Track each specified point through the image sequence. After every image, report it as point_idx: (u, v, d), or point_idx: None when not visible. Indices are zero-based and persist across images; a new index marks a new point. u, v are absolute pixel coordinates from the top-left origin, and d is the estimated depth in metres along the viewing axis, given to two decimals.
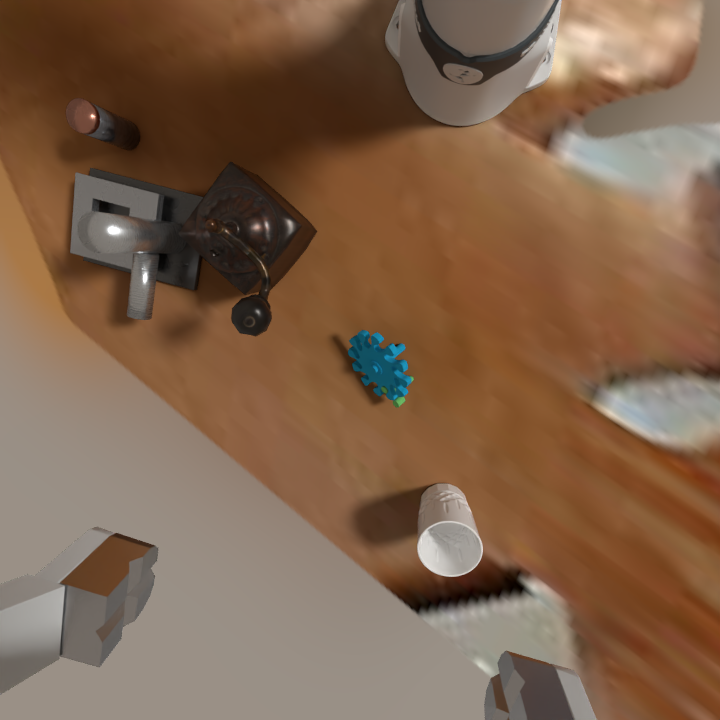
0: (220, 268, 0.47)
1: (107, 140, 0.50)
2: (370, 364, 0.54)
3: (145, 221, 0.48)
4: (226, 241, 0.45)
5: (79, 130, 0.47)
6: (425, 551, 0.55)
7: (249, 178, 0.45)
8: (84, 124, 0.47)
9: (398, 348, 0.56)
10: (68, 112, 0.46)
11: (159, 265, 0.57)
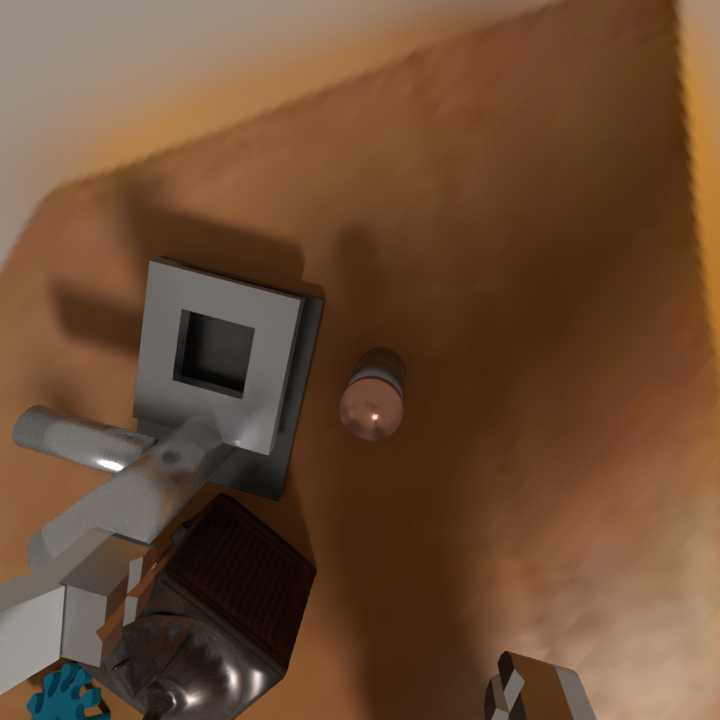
0: None
1: None
2: None
3: (182, 506, 0.25)
4: (138, 694, 0.25)
5: (343, 403, 0.23)
6: None
7: (260, 695, 0.27)
8: (354, 415, 0.23)
9: None
10: (377, 386, 0.22)
11: None
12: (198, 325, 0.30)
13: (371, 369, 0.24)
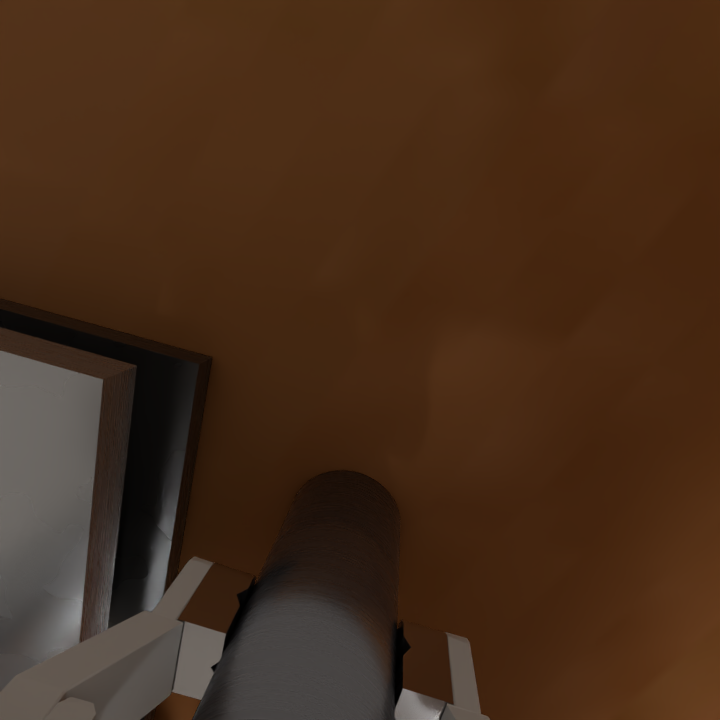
0: None
1: None
2: None
3: None
4: None
5: None
6: None
7: None
8: None
9: None
10: None
11: None
12: None
13: (284, 642, 0.07)
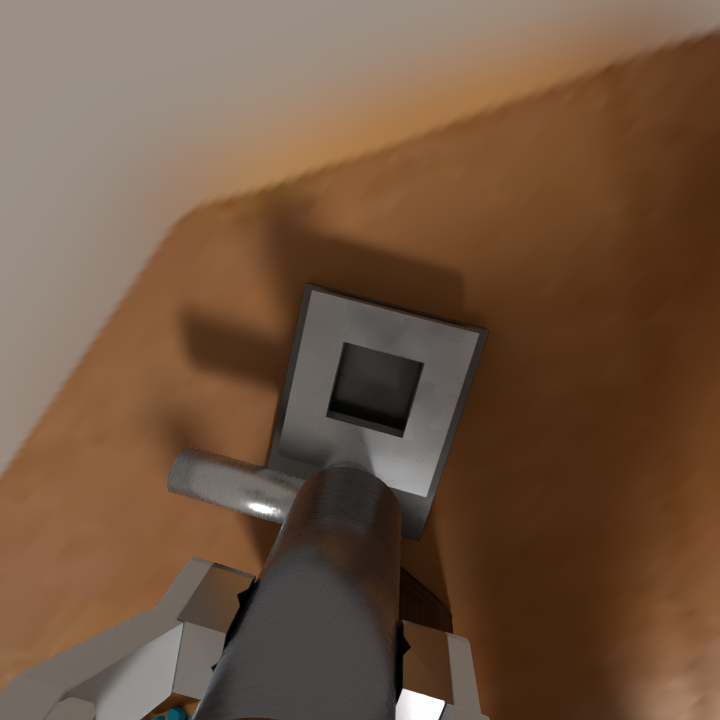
0: None
1: None
2: None
3: None
4: None
5: None
6: None
7: None
8: None
9: None
10: None
11: None
12: (346, 356, 0.28)
13: (287, 633, 0.07)
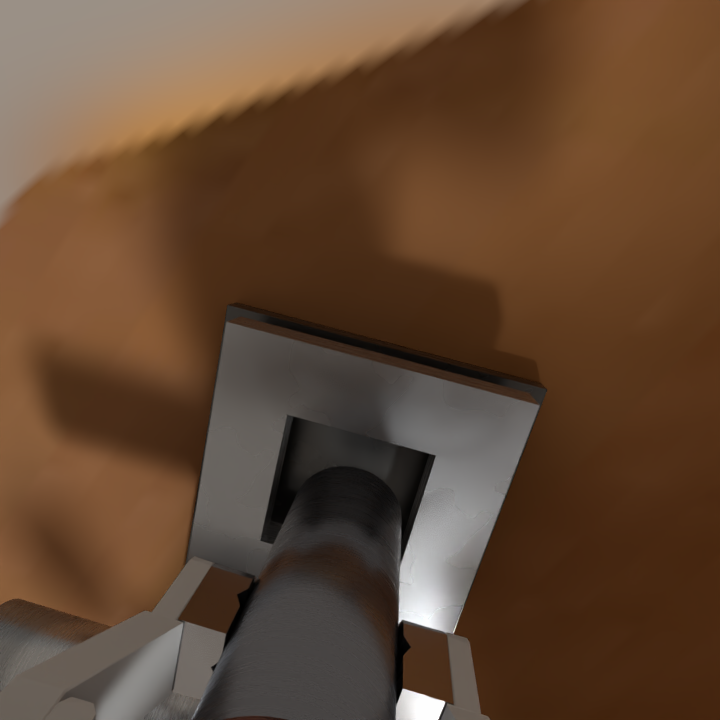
0: None
1: None
2: None
3: None
4: None
5: None
6: None
7: None
8: None
9: None
10: None
11: None
12: (301, 428, 0.17)
13: (287, 632, 0.07)
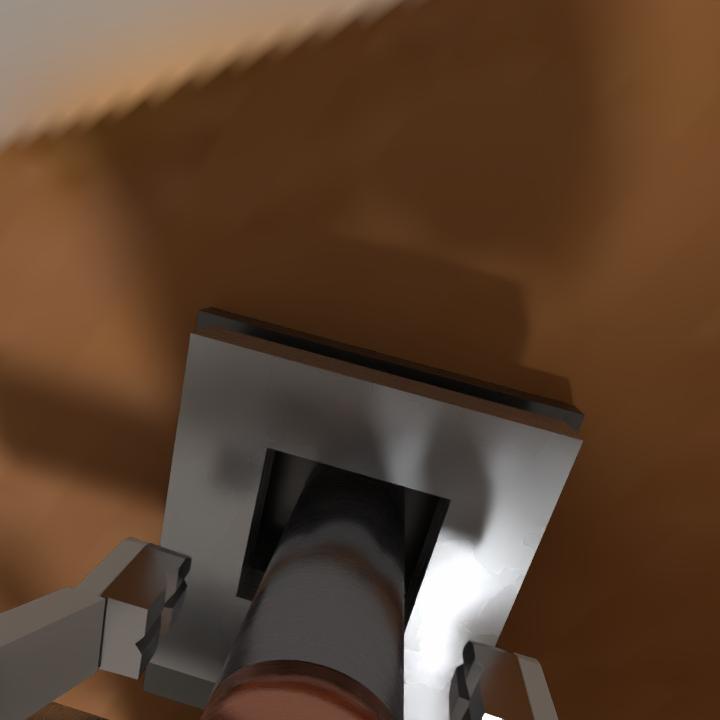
0: None
1: None
2: None
3: None
4: None
5: None
6: None
7: None
8: None
9: None
10: None
11: None
12: (287, 456, 0.14)
13: (306, 593, 0.08)
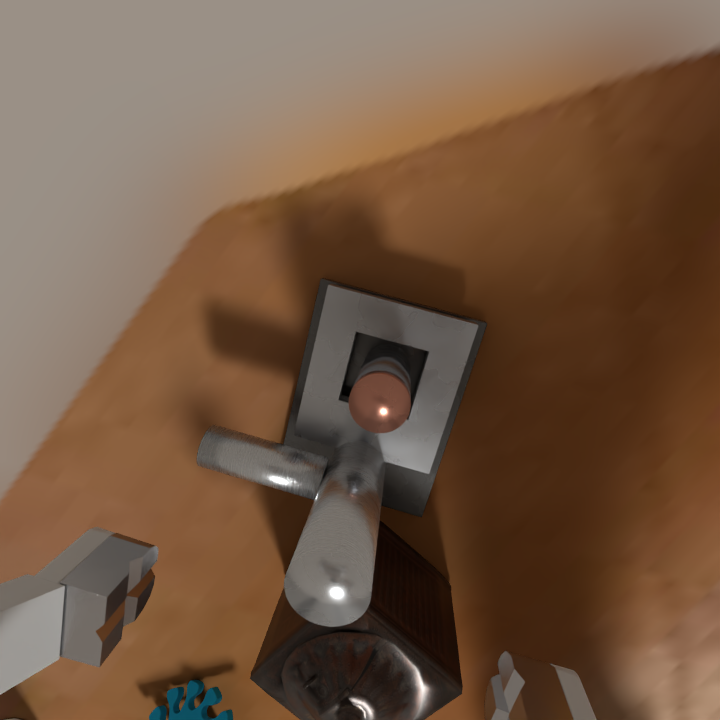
0: (288, 662, 0.27)
1: None
2: None
3: None
4: (328, 710, 0.26)
5: (352, 397, 0.23)
6: None
7: None
8: (363, 409, 0.23)
9: None
10: (385, 380, 0.23)
11: None
12: (357, 346, 0.31)
13: (379, 364, 0.25)
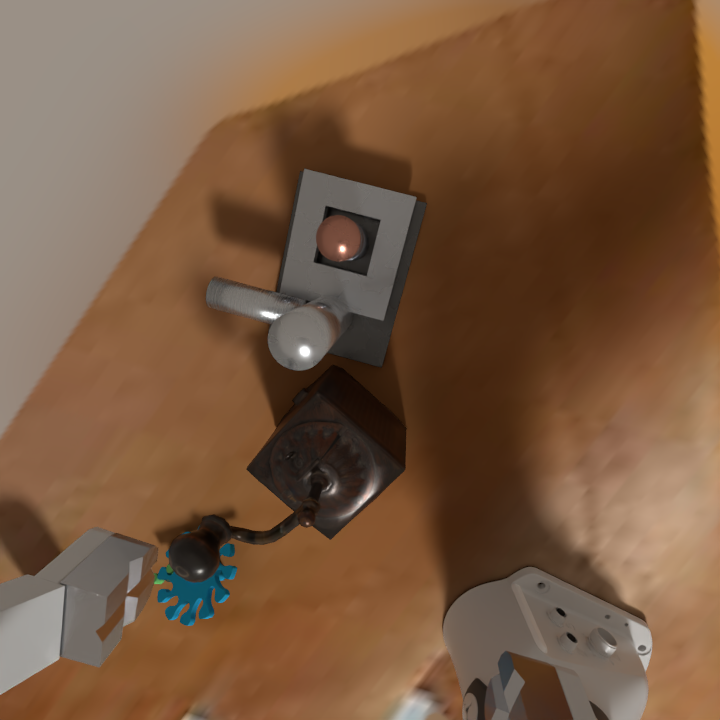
0: (274, 449, 0.36)
1: None
2: None
3: None
4: (303, 476, 0.35)
5: (318, 233, 0.32)
6: None
7: (384, 488, 0.37)
8: (326, 243, 0.32)
9: (218, 578, 0.51)
10: (342, 219, 0.32)
11: None
12: None
13: None
